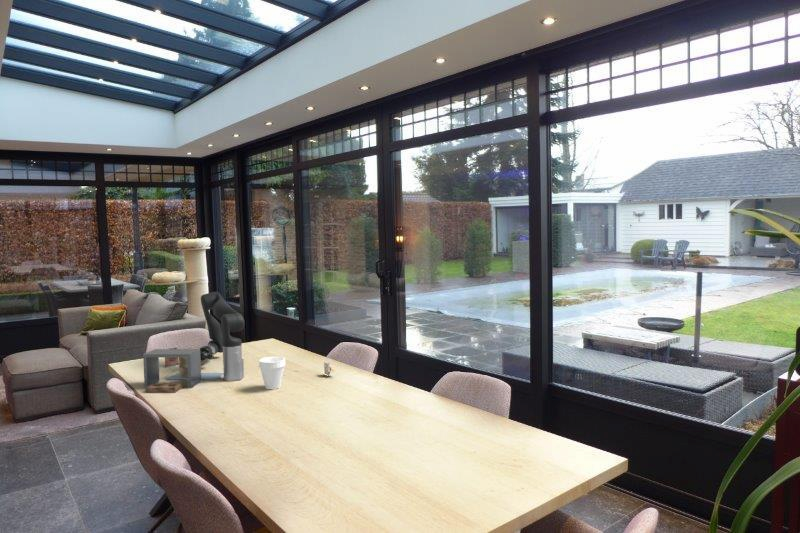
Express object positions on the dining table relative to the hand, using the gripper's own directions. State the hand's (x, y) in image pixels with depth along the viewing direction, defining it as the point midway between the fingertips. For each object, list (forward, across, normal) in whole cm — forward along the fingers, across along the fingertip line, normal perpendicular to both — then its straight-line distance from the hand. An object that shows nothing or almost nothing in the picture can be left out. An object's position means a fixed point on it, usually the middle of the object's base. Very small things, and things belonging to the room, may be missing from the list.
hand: (194, 359), depth 301 cm
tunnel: (+25, 0, +7) cm, 26 cm away
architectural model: (+8, +74, +8) cm, 74 cm away
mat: (+10, +5, +7) cm, 13 cm away
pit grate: (+35, 0, +7) cm, 36 cm away
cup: (+30, +51, +7) cm, 60 cm away
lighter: (-14, -19, +7) cm, 25 cm away
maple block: (+11, 0, +6) cm, 13 cm away
